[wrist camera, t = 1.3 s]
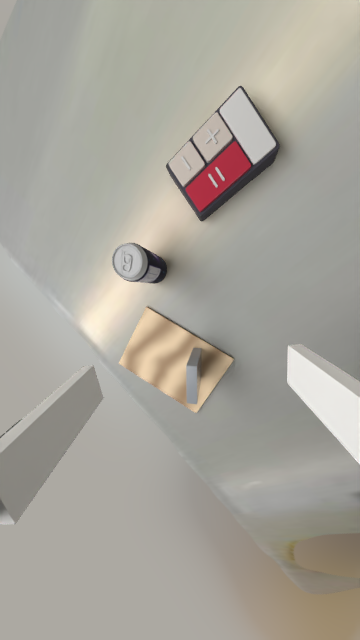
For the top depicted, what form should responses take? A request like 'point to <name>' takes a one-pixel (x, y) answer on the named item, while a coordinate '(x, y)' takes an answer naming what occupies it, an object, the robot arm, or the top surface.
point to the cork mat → (172, 358)
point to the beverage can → (138, 264)
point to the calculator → (223, 155)
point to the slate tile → (193, 375)
